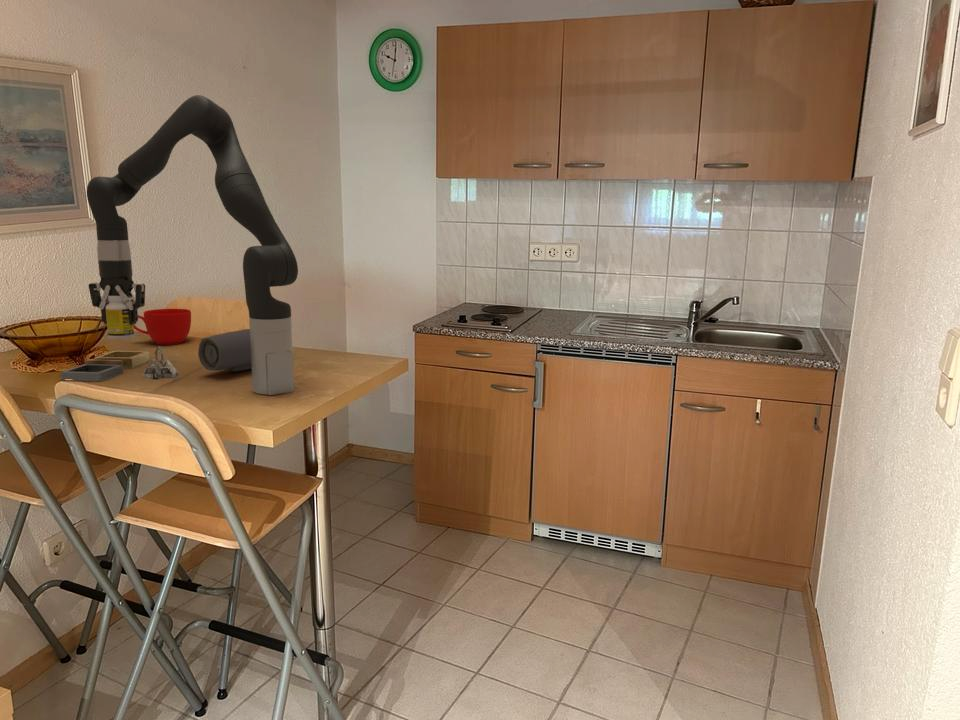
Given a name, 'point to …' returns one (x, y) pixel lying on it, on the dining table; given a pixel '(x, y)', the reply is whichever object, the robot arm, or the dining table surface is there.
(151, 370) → the house of cards
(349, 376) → the dining table surface
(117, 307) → the pill bottle
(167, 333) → the ceramic cup
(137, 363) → the brass socket
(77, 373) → the graphite socket
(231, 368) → the bluetooth speaker
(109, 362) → the door edge sill
